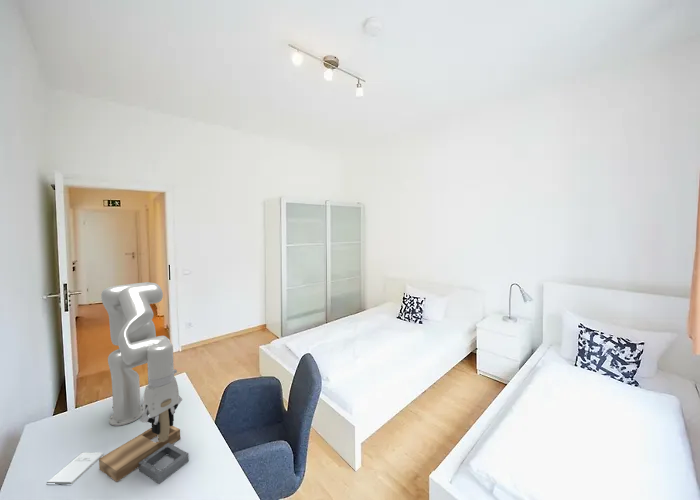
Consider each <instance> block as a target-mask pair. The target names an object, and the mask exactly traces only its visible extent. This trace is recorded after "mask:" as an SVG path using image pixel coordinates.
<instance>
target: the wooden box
mask: <svg viewBox="0 0 700 500" xmlns="http://www.w3.org/2000/svg"><path fill="white" fill-rule="evenodd" d="M156 437H158V436H157V434H155V433H153V432H152V427H150V428H148V429H147V430H145V431H144V432H142V433H140V434H139V435H137V436H135V437H133V438H132V439H130V440H128V441H127V442H125V443H123V444H122V445H120V446H118V447H117V448H115V449H113V450H112V451H109V452H108V453H106V454H104V455H103V456H102V457H101V458H99V460H98V467H99V469H98V470H100V472H102V473H104V474H105V475H106V476H108V477H109V478H111V479H112V480H114V481H115V482H116V483H118V482H119V481H121V480H122V479H123V478H125V477H127V476H128V475H130V474H131V473H132V472H134V471H136V469H139V464H138V463H139V462H141V461H142V460H144V459H145V458H147V457H148V456H150V455H151V454H153V453H154V452H155V451H157V450H158V449H160V448H161V447H163V446H164V445H166V444H167V443H170V444H172V445H174V444H175V443H176V442H178V441H179V440H180V439H181V429H180V428H178V427H177V426H174V425H173V426H170V430H169V438H168V440H166V441H165V442H159V441H158V440H157V441H156V442H155V441H153V439H155V438H156Z"/></svg>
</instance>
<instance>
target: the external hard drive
mask: <svg viewBox="0 0 700 500" xmlns="http://www.w3.org/2000/svg"><path fill="white" fill-rule="evenodd" d="M103 456H104V453H103V452H81V453H80V454H78V456H76V457H75V458H74V459H73V460H71V461H70V462H69V463H68V464H67V465H66V466H64V467H63V468H61V469H60V470H59V471H58V472H57V473H56V474H55V475H54V476H52V477H51V478H50V479H48V480H47V481H46V483H55V484H72V485H73V484H74V483H75V482H77V480H79V479H80V478H81V477H82V476H83V475H84V474H85V473H86V472H87V471H88V470H89V469H91V468H92V467H93V465H95V464H96V463H97V462H99V458H101V457H103Z"/></svg>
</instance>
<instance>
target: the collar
mask: <svg viewBox="0 0 700 500" xmlns="http://www.w3.org/2000/svg"><path fill="white" fill-rule="evenodd" d="M167 455H168V456H169V457H172V458H173V459H174V460H173V461H172V462H170V463H169V464H168V465H166V466H165V467H163V468H162V469H159V468H157V467H155V466H154V464H156V463H158V462H159V461H160V460H162V458H164V457H166V456H167ZM189 456H190V455H189V452H186V451H185V450H183V449H181V448H180V447H178V446H175V445H174V444H170V443H167V444H166V445H164V446H163V447H161V448H160V449H158V450H157V451H155V452H154V453H153V454H151V455H150V456H148V457H147V458H145V459H144V460H142V461H141V462H139V463H138V464H139V467H138V472H140V473H141V474H143V475H144V476H146V477H147V478H149V479H150V480H152V481H154V482H155V483H156V484H158V485H160V484H161V483H163V482H164V481H165V480H166V479H168V478H169V477H171V476H172V474H174V473H175V472H176V471H178V470H179V469H181V468H182V467H183V466H184V465H186V464H187V463H188V462H189V461H190V460H189V458H190V457H189Z"/></svg>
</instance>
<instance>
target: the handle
mask: <svg viewBox="0 0 700 500" xmlns="http://www.w3.org/2000/svg"><path fill="white" fill-rule="evenodd" d="M170 403H171V399H169V400H167V401H166V402H164V403H162V404H161V407H165V406H167V405H169V404H170ZM158 422H159V423H160V434H158V435H157V436H156V437H157V438H158V439H157V442H158V441H159V442H165V441H166V440H168V438H169V430H170V421H169V412H168V410H166V411H164V412H162V413H160V414H159V418H158Z"/></svg>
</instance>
